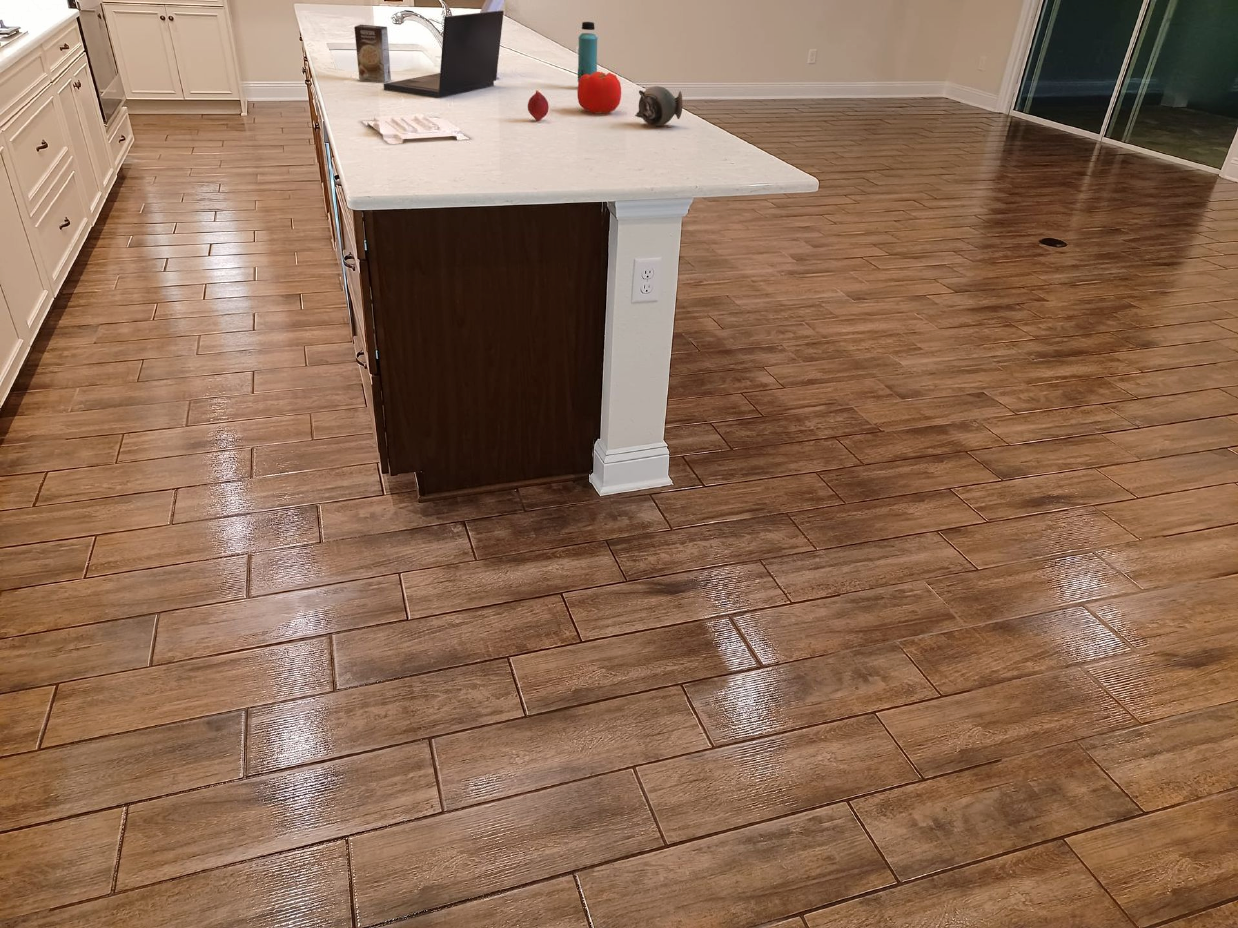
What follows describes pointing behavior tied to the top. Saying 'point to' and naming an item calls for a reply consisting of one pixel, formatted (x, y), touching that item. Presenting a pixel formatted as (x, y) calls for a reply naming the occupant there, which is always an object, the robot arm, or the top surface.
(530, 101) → the onion
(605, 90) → the tomato
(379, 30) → the coffee box
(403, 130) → the tray
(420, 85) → the laptop
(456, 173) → the top surface
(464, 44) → the laptop screen
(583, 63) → the beverage bottle
